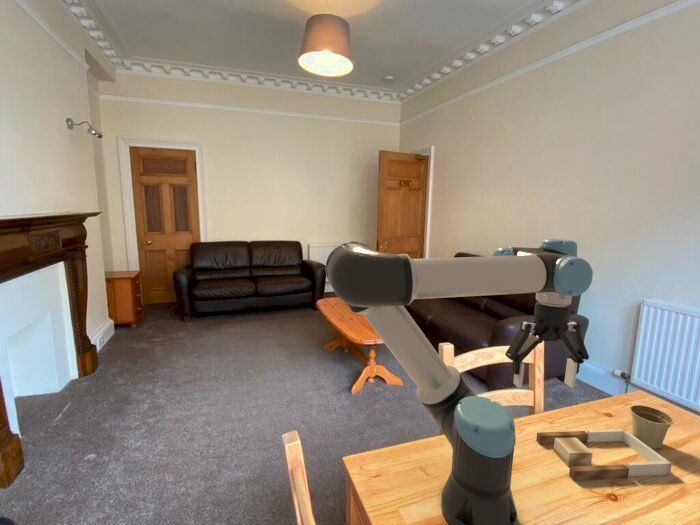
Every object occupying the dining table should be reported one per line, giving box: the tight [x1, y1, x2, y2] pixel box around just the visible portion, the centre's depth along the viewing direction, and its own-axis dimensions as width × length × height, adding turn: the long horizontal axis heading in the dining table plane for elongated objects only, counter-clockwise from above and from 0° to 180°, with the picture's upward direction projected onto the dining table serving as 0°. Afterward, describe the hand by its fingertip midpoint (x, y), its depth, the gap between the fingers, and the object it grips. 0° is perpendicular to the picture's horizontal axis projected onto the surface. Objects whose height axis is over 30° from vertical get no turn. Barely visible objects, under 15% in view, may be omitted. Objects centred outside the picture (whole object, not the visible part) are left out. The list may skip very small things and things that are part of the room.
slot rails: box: [535, 430, 629, 482], centre depth 94 cm, size 14×15×2 cm
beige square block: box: [553, 438, 593, 468], centre depth 93 cm, size 6×6×4 cm
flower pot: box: [629, 404, 675, 450], centre depth 100 cm, size 9×9×9 cm
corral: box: [586, 428, 672, 477], centre depth 95 cm, size 11×14×3 cm
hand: (543, 385), depth 90 cm, fingers open, 13 cm apart
